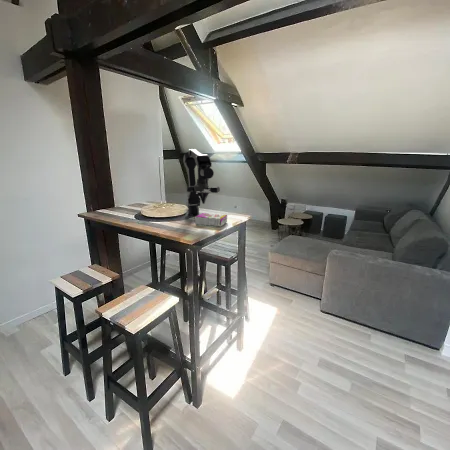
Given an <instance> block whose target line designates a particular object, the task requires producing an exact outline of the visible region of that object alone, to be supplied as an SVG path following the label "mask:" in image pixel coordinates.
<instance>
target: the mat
mask: <svg viewBox="0 0 450 450" xmlns="http://www.w3.org/2000/svg"><path fill="white" fill-rule="evenodd" d="M196 226H197V227H209V228H210V227H211V228H212V227H213V228H217V227H218V226H208V225H198V224H196Z"/></svg>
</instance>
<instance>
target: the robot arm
mask: <svg viewBox="0 0 450 450" xmlns="http://www.w3.org/2000/svg"><path fill="white" fill-rule="evenodd" d="M182 158H183V159H182V160H183V164H184V167H185V168H186V169H187V177H188V179H187V180H188V186H187V187H186V192H187V198H186V201H185V205H186V207H187V213H188V214H187V213H186V214H187V216H195V217H196V216H198V215H200V208H199V207H200V206H201V203H202V204H203V205H205V204H206V201H207V198H208V197H209V194H210V193H213V194H214V193H215V194H217V193H220V191H221V187H220V186H212V187H209V186H210V185H209V179H212V178H213V177H214V175H215V174H214V173H215V172H214V169H212V168H211V167H213V166H212V165H213V164H212V160H211V157H210V156H209V155H208V154H207V153H202V152H200V151H198V150H197V149H196V148H194V149H193V148H191V149H190V148H189V149H188V151H186V153H184V155H183V157H182ZM196 167H197V179H196V173H195V171H196V169H195V168H196Z"/></svg>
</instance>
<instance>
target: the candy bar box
mask: <svg viewBox="0 0 450 450" xmlns="http://www.w3.org/2000/svg"><path fill="white" fill-rule="evenodd" d="M227 223H228V214H223V213H221V214H220V213H209V212H201V213H199V214H198V215H196V216H195V217H194V224H195V225H197V224H198V225H208V226H207V227H209V226H217V227H220V228H221V227H222V226H223V225H225V224H227Z"/></svg>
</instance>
